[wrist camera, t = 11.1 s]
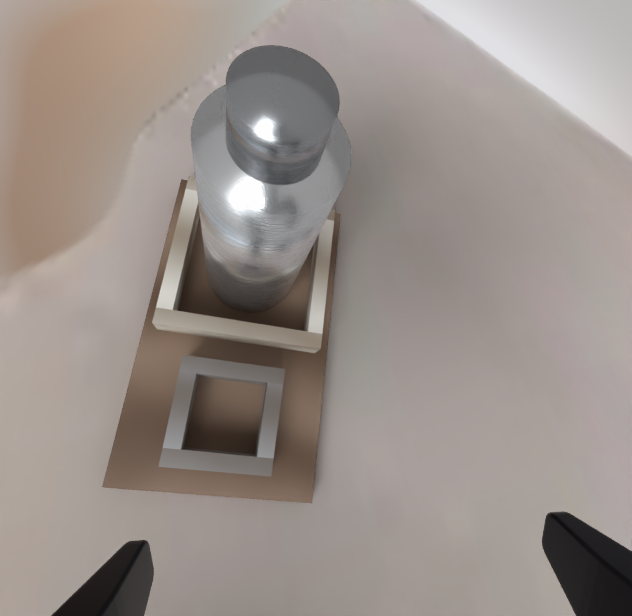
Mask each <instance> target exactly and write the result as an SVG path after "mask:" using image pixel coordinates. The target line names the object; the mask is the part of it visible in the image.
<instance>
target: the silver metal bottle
mask: <svg viewBox="0 0 632 616" xmlns="http://www.w3.org/2000/svg"><path fill="white" fill-rule="evenodd" d="M339 104H340V101H339V93H338V90H337V87H336V84H335V82H334V81H333V79H332V77H331V76H330V74H329V73H328V72H327V71H326V70H325V68H324V67H323V66H321V65H320V64H319V63H318V62H317V61H315V60H314V59H313V58H311V57H309V56H308V55H306V54H304V53H302V52H300V51H297V50H295V49H291V48H288V47H283V46H274V45H269V46H259V47H255V48H252V49H249V50H247V51H245V52H243V53H242V54H240V55H239V56H238V57H237V58H236V59H235V60H234V61H233V62H232V64H231V65H230V67H229V69H228V72H227V76H226V85H224V86H222V87H220V88H218V89H217V90H215V91H214V92H213V93H211V94H210V95H209V96H208V97H207V98H206V99H205V100H204V101H203V102H202V103H201V105H200V107H199V108H198V110H197V111H196V114H195V116H194V119H193V123H192V127H191V144H192V153H193V161H194V170H195V178H196V186H197V195H198V203H199V212H200V220H201V229H202V237H203V245H204V254H205V262H206V271H207V278H208V282H209V285H210V287H211V289H212V291H213V293H214V294H215V296H216V297H217V298H218V299H219V300H220V301H221V302H222V303H224V304H225V305H226V306H228V307H230V308H232V309H234V310H237V311H241V312H246V313H258V312H263V311H267V310H269V309H272V308H273V307H275V306H277V305H278V304H279V303H281V302H282V301H283V300H284V299H285V297H286V296H287V295H288V293H289V291H290V289H291V287H292V285H293V283H294V281H295V279H296V277H297V276H298V274H299V272H300V270H301V268H302V266H303V264H304V262H305V260H306V258H307V256H308V254H309V252H310V250H311V248H312V246H313V244H314V242H315V240H316V238H317V237H318V235H319V233H320V231H321V229H322V227H323V225H324V223H325V221H326V219H327V217H328V215H329V213H330V211H331V209H332V207H333V205H334V203H335V201H336V199H337V198H338V196H339V194H340V192H341V190H342V188H343V186H344V184H345V182H346V180H347V177H348V175H349V171H350V167H351V147H350V142H349V139H348V136H347V133H346V131H345V129H344V127H343V125H342V123H341V122H340V120H339V119H338V117H337V114H338V111H339Z"/></svg>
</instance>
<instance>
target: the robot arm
mask: <svg viewBox="0 0 632 616" xmlns="http://www.w3.org/2000/svg"><path fill="white" fill-rule="evenodd" d="M542 546H543V549H544V552H545V554H546V556H547V558H548V560H549V562H550V564H551V566H552V568H553V570H554V572H555V574H556V576H557V578H558V580H559V582H560V584H561V586H562V588H563V590H564V592H565V594H566V596H567V598H568V600H569V602H570V604H571V606H572V608H573V610H574V612H575V614H576V616H632V551H630V550H629V549H627V548H625V547H624V546H622V545H620V544H619V543H617V542H615V541H614V540H612V539H611V538H609V537H607V536H606V535H604V534H602V533H601V532H599V531H598V530H596V529H594V528H593V527H591V526H589V525H588V524H586V523H584V522H583V521H581V520H580V519H578V518H576V517H575V516H573V515H571V514H570V513H567V512H550V513H548V514H547V516H546V519H545V525H544V531H543V537H542ZM153 575H154V568H153V562H152V557H151V552H150V546H149V543H148V542H147V541H145V540H140V541H129V542H127V543H126V544H125V545H123V546H122V547H121V548H120V549H119V550H118V551H117V552H116V553H115V554H114V555H113V556H112V557H111V558H110V559H109V560H108V561H107V562H106V563H105V564H104V565H103V566H102V567H101V568H100V569H99V570H98V571H97V572H96V573H95V574H94V575H93V576H92V577H90V578H89V579H88V580H87V581H86V582H85V583H84V584H83V585H82V586H81V587H80V588H79V589H78V590H77V591H76V592H75V593H74V594H73V595H72V596H71V597H70V598H69V599H68V600H67V601H66V602H65V603H64V604H63V605H62V606H61V607H60V608H59V609H58V610H57V611H56V612H55V613H53V614H52V615H51V616H144V614H145V610H146V606H147V602H148V598H149V594H150V590H151V586H152V582H153Z"/></svg>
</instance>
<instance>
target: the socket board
mask: <svg viewBox="0 0 632 616" xmlns="http://www.w3.org/2000/svg"><path fill="white" fill-rule="evenodd" d="M339 223H340V214H336V213H335V209H331V211H330V213H329V215H328V217H327V219H326V221H325V223H324V225H323V227H322V229H321V231H320V233H319V235H318V237H317V238H316V240H315V242H314V244H313V246H312V248H311V250H310V252H309V254H308V256H307V258H306V260H305V262H304V264H303V266H302V268H301V270H300V272H299V274H298V276H297V277H296V279H295V281H294V283H293V285H292V287H291V289H290V291H289V293H288V295H287V296H286V297H285V299H284V300H283V301H282V302H281V303H279V304H278V305H277V306H275V307H273V308H272V309H269V310H267V311H263V312H258V313H246V312H241V311H237V310H234V309H232V308H230V307H228V306H226V305H225V304H224V303H222V302H221V301H220V300H219V299H218V298H217V297H216V296H215V294H214V293H213V291H212V289H211V287H210V285H209V282H208V278H207V271H206V262H205V254H204V245H203V237H202V229H201V220H200V212H199V203H198V195H197V186H196V178H193V177H189V178H188V181H187V180H182V179H181V183H180V187H179V191H178V195H177V199H176V203H175V207H174V211H173V214H172V218H171V222H170V226H169V230H168V234H167V238H166V242H165V246H164V249H163V253H162V257H161V261H160V265H159V269H158V273H157V277H156V280H155V284H154V288H153V292H152V296H151V300H150V304H149V308H148V312H147V315H146V319H145V323H144V327H143V331H142V335H141V339H140V343H139V347H138V350H137V354H136V358H135V362H134V366H133V370H132V374H131V378H130V381H129V385H128V389H127V393H126V397H125V401H124V405H123V409H122V413H121V416H120V420H119V424H118V428H117V432H116V436H115V440H114V444H113V448H112V451H111V455H110V459H109V463H108V467H107V471H106V475H105V479H104V482H103V486H102V487H105V488H118V489H131V490H144V491H158V492H171V493H184V494H197V495H210V496H224V497H237V498H250V499H263V500H276V501H290V502H303V503H312V498H313V488H314V477H315V467H316V457H317V447H318V437H319V426H320V416H321V406H322V396H323V386H324V376H325V365H326V355H327V345H328V335H329V325H330V315H331V304H332V294H333V284H334V274H335V264H336V254H337V243H338V233H339Z"/></svg>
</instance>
